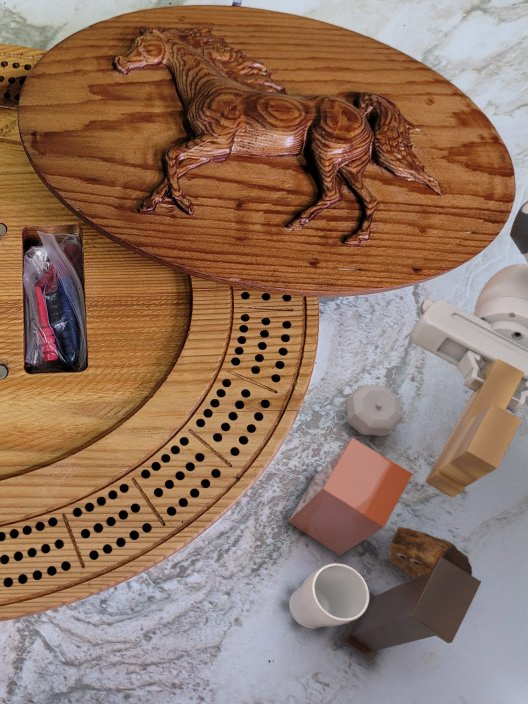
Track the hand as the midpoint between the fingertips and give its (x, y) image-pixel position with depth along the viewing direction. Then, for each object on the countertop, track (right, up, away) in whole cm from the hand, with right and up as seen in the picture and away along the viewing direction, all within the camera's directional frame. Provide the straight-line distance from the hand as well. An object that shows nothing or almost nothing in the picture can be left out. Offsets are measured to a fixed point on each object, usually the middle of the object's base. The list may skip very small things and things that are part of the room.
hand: (493, 395), depth 90 cm
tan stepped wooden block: (-2, -4, 0) cm, 5 cm away
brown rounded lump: (+3, -26, +23) cm, 35 cm away
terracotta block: (-8, -19, +27) cm, 34 cm away
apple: (0, -7, +33) cm, 33 cm away
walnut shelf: (-5, -33, +20) cm, 39 cm away
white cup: (-13, -31, +22) cm, 40 cm away
